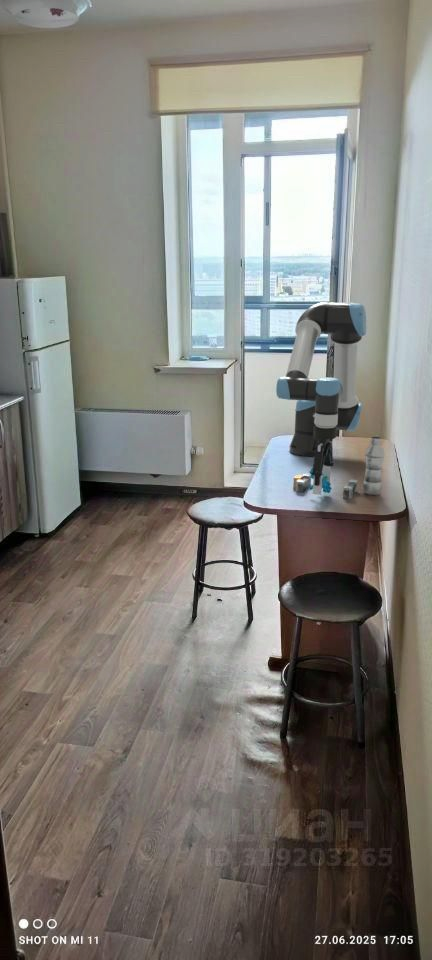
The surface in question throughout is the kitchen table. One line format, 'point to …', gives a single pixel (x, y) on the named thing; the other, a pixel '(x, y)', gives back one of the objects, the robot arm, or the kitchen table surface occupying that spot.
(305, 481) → the support blocks
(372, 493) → the plastic bottle
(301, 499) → the kitchen table surface
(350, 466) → the kitchen table surface
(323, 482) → the gear
